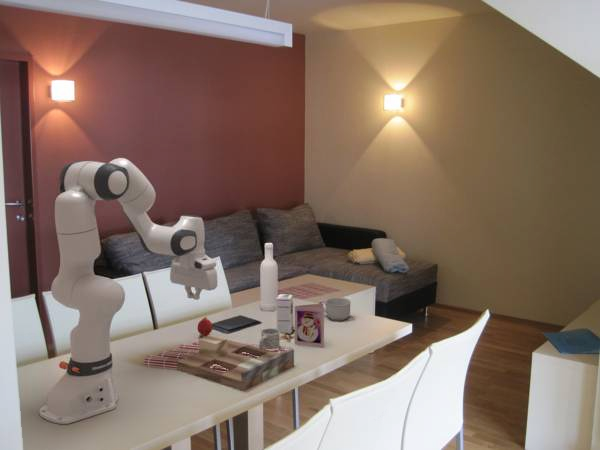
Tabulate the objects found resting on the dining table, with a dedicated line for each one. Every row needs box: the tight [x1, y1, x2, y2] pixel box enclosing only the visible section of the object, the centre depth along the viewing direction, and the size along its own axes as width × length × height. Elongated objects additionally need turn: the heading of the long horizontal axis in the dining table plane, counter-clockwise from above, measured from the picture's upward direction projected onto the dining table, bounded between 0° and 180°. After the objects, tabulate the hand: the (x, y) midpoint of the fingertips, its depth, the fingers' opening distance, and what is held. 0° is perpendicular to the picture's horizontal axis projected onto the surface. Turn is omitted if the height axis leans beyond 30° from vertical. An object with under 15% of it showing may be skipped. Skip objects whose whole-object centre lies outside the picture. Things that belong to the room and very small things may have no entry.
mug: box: [259, 328, 280, 350], centre depth 233 cm, size 10×7×7 cm, turn 149°
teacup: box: [318, 296, 352, 322], centre depth 271 cm, size 14×11×8 cm
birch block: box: [198, 334, 228, 358], centre depth 221 cm, size 6×8×5 cm
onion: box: [197, 316, 213, 337], centre depth 247 cm, size 6×6×8 cm
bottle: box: [259, 242, 279, 312], centre depth 282 cm, size 8×8×30 cm
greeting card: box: [294, 302, 325, 348], centre depth 239 cm, size 11×7×15 cm, turn 73°
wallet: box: [211, 314, 263, 335], centre depth 262 cm, size 20×2×15 cm
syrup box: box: [276, 293, 294, 334], centre depth 253 cm, size 6×6×14 cm
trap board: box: [176, 339, 295, 392], centre depth 216 cm, size 26×30×6 cm
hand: (193, 298), depth 224 cm, fingers closed
